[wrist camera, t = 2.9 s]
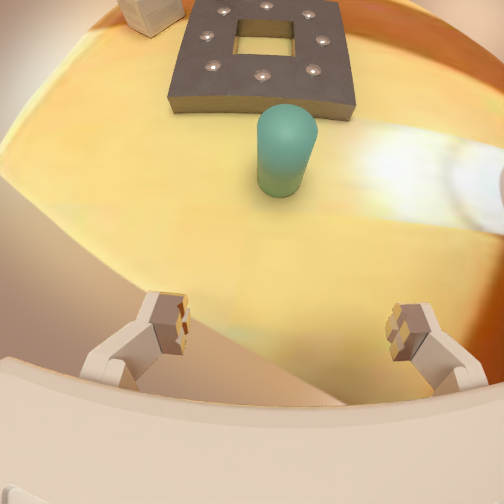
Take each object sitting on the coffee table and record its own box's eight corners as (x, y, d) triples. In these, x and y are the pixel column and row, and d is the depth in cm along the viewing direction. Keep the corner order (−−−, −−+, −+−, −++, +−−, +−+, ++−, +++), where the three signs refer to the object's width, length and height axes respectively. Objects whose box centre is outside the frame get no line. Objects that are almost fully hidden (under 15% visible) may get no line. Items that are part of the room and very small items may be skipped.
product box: (186, 16, 32) (177, -23, 25) (150, 40, 32) (135, 0, 24) (161, 4, 33) (150, -31, 26) (127, 26, 32) (111, -9, 25)
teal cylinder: (301, 159, 29) (316, 106, 20) (300, 199, 28) (318, 156, 19) (258, 156, 29) (258, 102, 20) (256, 196, 28) (255, 152, 19)
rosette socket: (334, 17, 32) (338, 1, 29) (348, 121, 29) (356, 105, 26) (199, 12, 32) (196, -4, 29) (174, 113, 30) (166, 96, 27)
